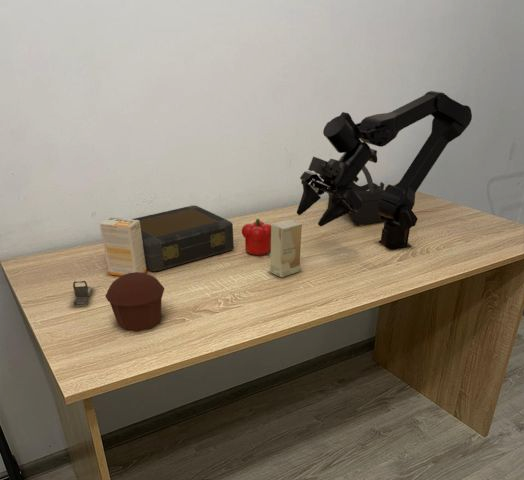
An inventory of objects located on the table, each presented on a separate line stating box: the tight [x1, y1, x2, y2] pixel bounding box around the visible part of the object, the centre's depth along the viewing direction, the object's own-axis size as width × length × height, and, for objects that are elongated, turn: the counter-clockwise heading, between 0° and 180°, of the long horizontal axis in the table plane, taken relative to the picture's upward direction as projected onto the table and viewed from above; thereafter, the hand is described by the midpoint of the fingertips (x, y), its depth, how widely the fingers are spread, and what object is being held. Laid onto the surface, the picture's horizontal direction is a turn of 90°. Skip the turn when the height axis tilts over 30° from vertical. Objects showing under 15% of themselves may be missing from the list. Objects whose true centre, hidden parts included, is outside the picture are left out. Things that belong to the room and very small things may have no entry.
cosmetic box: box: [269, 219, 303, 278], centre depth 127 cm, size 6×4×12 cm
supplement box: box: [99, 216, 148, 277], centre depth 127 cm, size 8×5×13 cm, turn 70°
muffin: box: [104, 272, 165, 333], centre depth 108 cm, size 12×11×10 cm
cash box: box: [131, 204, 234, 272], centre depth 141 cm, size 25×20×8 cm
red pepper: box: [241, 218, 271, 257], centre depth 139 cm, size 7×7×9 cm
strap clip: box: [72, 280, 92, 307], centre depth 118 cm, size 8×3×4 cm, turn 8°
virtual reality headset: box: [327, 165, 385, 226], centre depth 163 cm, size 19×24×15 cm
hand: (308, 219), depth 126 cm, fingers open, 9 cm apart
